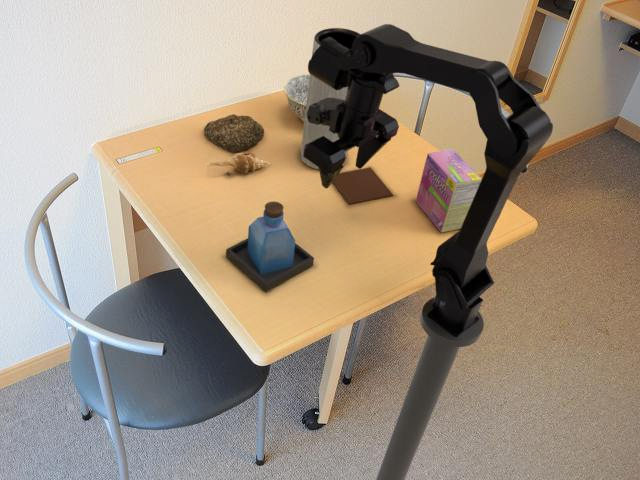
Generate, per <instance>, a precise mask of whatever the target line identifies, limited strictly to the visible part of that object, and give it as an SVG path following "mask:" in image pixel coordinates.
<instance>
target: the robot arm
mask: <svg viewBox="0 0 640 480" xmlns="http://www.w3.org/2000/svg"><path fill="white" fill-rule="evenodd" d="M359 34H360V35H358V36H357V37H356V38H355V39H354V41H353V43H352V48H351V49H348V48H346V47H344V46H343V45H341V44H339V43H338V42H337V41H336V40H334V39H333V38H331V37H328V38H326V39H323V40H321V44H320V47H319V48H318V49H317V50H316V51H315V52H314V54H313V56H312V55H311V58H310V59H309V61H308V63H307V71H308V74H311V75H312V76H314V77H316V78H317V79H319V80H320V81H322V82H324V83H325V84H327V85H328V86H330V87H332V88H333V89H335V90H341V89H342V88H346V87H348V89H347V93H346V97H345V100H341V99H336V98H325V99H323V100H321V101H319V102H317V103H314V104H312V105H310V106H309V108H308V111H307V120H308V121H309V123H312V124H317V125H319V124H322V125H326V126H330V128H329V131H330V132H332V133H333V134H335V133H337V134H338V138H339V139H338V140H336V141H335V142H332V141H330V140H329V139H327V138H326V137H324V136H322V137H319V138H317V139H315V140H313V141H311V142H309V143H307V144H305V147H304V152H303V157H305V158H306V159H308V160H309V161H310V162H312V163H313V164H315V165H316V166H317V167H318V168H319V170H318V171H319V177H320V181H321V186H322V187H323V188H324V189H326V190H327V189H329V188H330V186H331V185H332V184H333V183H332V182H333V181H334V180H335V178H336V177H337V175H338V174H339V173H341V172H342V170H343V168H344V165H343V163H344V162H345V163H346V161H345V159H346V160H347V157H346V155H345V152H346V151H348V152H349V151H350V150H352V149H354V148H355V147H356V148H358V149H357V152H356V153H357V154H356V159H355V168H357V169H358V170H359V169H363V167H364V166H365V165H367V163H368V162H369V161H370V160H371V159H372V158H373V157H374V156H375V155H376V154H377V153H379V152H380V150H381V149H383V147H385V146H386V144H388V143H389V142H390V141H391V140H392V138H394V137H395V136H397V134H398V131H399V128H400V125H399V122H398V120H397V119H396V118H395V117H393V116H392V115H390V114H388V113H387V112H385V111H384V110H382V109H381V107H380V106H381V103H382V100H383V96H384V95H387V94H388V93H390V92H392V91H394V90H396V89H398V88H399V87H400V83H399V81H398V80H397V78H396V77H395V76H394V74H403V75H404V74H405V75H408V76H411V77H414V78H418V79H421V80H424V81H427V82H431V83H434V84H437V85H442V86H445V87H448V88H452V89H454V90H458V91H461V92H464V93H467V94H469V95H470V98H472V101H473V102H474V105H475V111H476V117H477V123H478V126H479V128H480V129H481V131H482V133H483V135H484V136H485V138H486V144H485V148H484V153H483V156H484V160H485V170H484V173H483V175H482V177H481V178H482V180H481V182H480V185H479V187H478V189H477V191H476V194H475V196H474V198H473V201H472V203H471V205H470V208H469V210H468V212H467V215H466V217H465V219H464V222H463V224H462V226H461V229H459V230H458V231H457V232H455V233H454V234H453V235H452V236H450V237H449V238H447V239H446V240H445V241H443V242H442V243H441V244H440V245H438V247H437V249H436V252H435V257H434V259H433V261H431V262H430V265H431V266H433V267H432V271H431V274H432V277H434V285H435V296H434V297H435V299H434V302H433V305H432V307H433V308H434V309H432V310H431V311H429V312H428V314H427V316H428V317H429V318H431V319H432V320H433V321H435V322H436V323H437V324H439V325H440V326H441V327H442V328H444V329H445V330H446V331H448V332H449V333H450V334H452V335H453V336H454V337H458V336H460V335H461V334H462V333H464V332H465V331H466V330H468V329H469V328H470V327H472V326H473V325H474V324H476V323H477V322H478V321H479V318H478V317H477V313H478V311H479V312H480V308H481V306H482V304H483V302H484V299H483V298H482V297H481V296H483V294H484V293H485V292H486V291H487V290H489V289H490V288H491V287H492V286H493V285H495V281H494V278H493V277H492V275H491V273H490V271H489V269H488V267H487V261H488V257H489V249H488V241H489V239H490V236H491V234H492V232H493V231H494V228H495V226H496V224H497V222H498V220H499V218H500V216H501V213H502V211H503V210H504V207H505V205H506V203H507V201H508V199H509V197H510V195H511V193H512V191H513V190H514V186H515V184H516V183H517V180H518V178H519V176H520V174H521V173H522V171H523V170H524V169H525V168H526V167H527V166H528V164H529V163H531V161H532V160H533V159H534V158H535V157H536V156H537V155H538V154H539V152H540V151H541V150H542V148H543V147H544V145H546V143H547V142H548V140H549V139H550V138H551V136H552V133H553V131H554V124H553V123H552V122H551V118H550V117H549V115H548V114H547V112H546V111H544V110H543V109H542V107H541V106H540V105H539V103H538V101H537V99H536V98H535V96H534V94H533V93H532V92H531V91H530V90H529V89H528V88H526V87H525V86H524V85H523V84H521V82H519V81H518V80H517V79H516V78H515V77H514V76H513V74H512V72H511V71H510V69H509V67H508V66H507V65H506V64H505V62H502V61H500V60H488V59H484V58H480V57H476V56H472V55H468V54H465V53H461V52H457V51H453V50H449V49H445V48H443V47H438V46H434V45H430V44H426V43H422V42H420V41H418V40H416V39H415V38H414V37H413V36H412V35H411V34H410V33H409V32H408V31H406V30H404V29H402V28H400V27H398V26H396V25H394V24H391V23H385V24H381V25H378V26H377V27H374V28H372V29H369V30H367V31H364V32H363V33H359ZM501 101H502V102H503V103H504V104H505V105H506V106H508V107H509V109H510V110H511V112H512V113H511V114H509V115H507V116H506V117H505V115H504V114H503V111H502V104H501ZM345 163H344V164H345ZM430 314H431V315H430ZM476 319H477V320H476Z"/></svg>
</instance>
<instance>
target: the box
mask: <svg viewBox="0 0 640 480" xmlns="http://www.w3.org/2000/svg"><path fill="white" fill-rule="evenodd" d="M482 178H483V177H481V176H480V175H479V174H478V173H477V172H476V171H475V170H474V169H473V168H472V167H471V166H470V164H468V163H467V162H466V161H465V159H463V158H462V156H460V155H459V153H458V152H456V151H455V150H454V149H453V148H450V149H443V150H438V151H437V150H436V151H431V152H428V153H427V154H426V158H425V162H424V166H423V170H422V174H421V178H420V183H419V186H418V190H417V194H416V198H415V202H416V204H417V205H418V206H419V207H420V209H421V210H422V211H423V212H424V214H425V215H426V216H427V217H428V218H429V220H430V221H431V222H432V223H433V225H434V226H435V227H436V228H437V229H438V231H439V232H440V233H447V232H451V231H456V230H460V229H461V226H462V224H463V222H464V219H465V217H466V215H467V212H468V210H469V208H470V205H471V203H472V201H473V198H474V196H475V194H476V191H477V189H478V187H479V185H480V182H481V180H482Z"/></svg>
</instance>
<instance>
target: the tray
mask: <svg viewBox="0 0 640 480" xmlns="http://www.w3.org/2000/svg"><path fill="white" fill-rule="evenodd" d="M247 248H248V237H247V238H245V239H243V240H241V241H240V242H237V243H235V244H234V245H232V246H230V247H228V248H226V250H225V258H226V259H228V261H229V262H230V263H232V264H233V266H235V267H236V268H237V269H238V270H240V271H241V272H242V273H243V274H244V275H245V276H247V278H249V279H250V280H251V281H252V282H253V283H254V284H256V285H257V286H258V287H259V288H260V290H262V291H264V293H268V292H270V291H271V290H273V289H276V288H277V287H278V286H280V285H282V284H284V283H286V282H287V281H289V280H290V279H293V278H294V277H296V276H298V275H299V274H301V273H304V272H305V271H306V270H308V269H310V268H312V267H313V266H314V261H315V257H314V256H312V255H311V254H310V253H308V251H306V250H305V249H304V248H303V247H301V246H300V245H299V244H297V243H296V242H295V248H294V257H293V265H292V267H290V268H286V269H282V270H277V271H273V272H269V273H265V274H261V275H260V274H259V272H258V270H257V268H256V267H255V265H254V263H253V261H252V260H251V258H250V256H249V254H248V253H247Z"/></svg>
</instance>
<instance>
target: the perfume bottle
mask: <svg viewBox="0 0 640 480" xmlns="http://www.w3.org/2000/svg"><path fill="white" fill-rule="evenodd" d="M284 208H285V207H284V205H283V204H282V203H281V202H279V201H273V200H272V201H268V202H266V203H265V205H264V210H263V214H262V216H260V217H257V218H256V219H255V220H253V222H251V223H250V224H249V225H248V230H247V232H248V233H247V238H248V248H247V253H248V254H249V256H250V258H251V260H252V261H253V263H254V265H255V267H256V268H257V270H258V272H259V274H260V275H261V274H265V273H269V272H273V271H277V270H282V269H286V268H290V267H292V265H293V257H294V248H295V243H296V239H295V237H294V235H293V234H292V231H291V230H290V228H289V226H288V225H287V223H286V221H285V220H284V216H285V213H284Z"/></svg>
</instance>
